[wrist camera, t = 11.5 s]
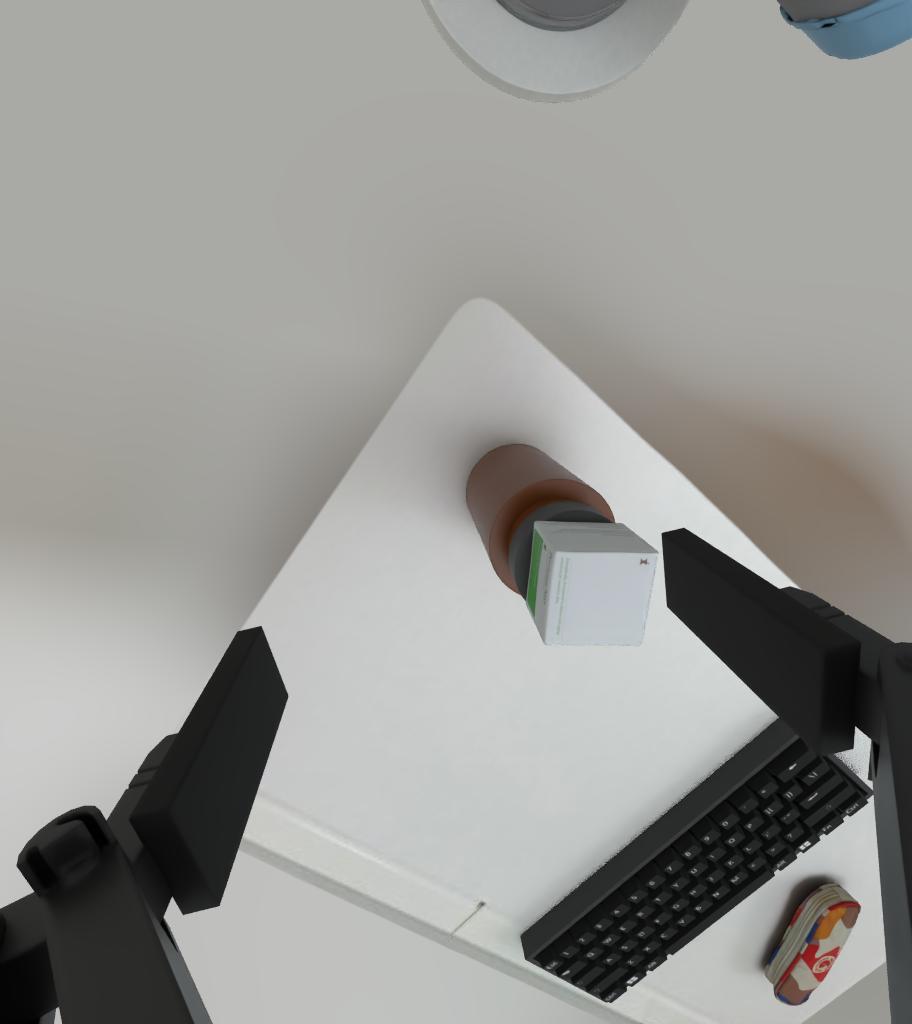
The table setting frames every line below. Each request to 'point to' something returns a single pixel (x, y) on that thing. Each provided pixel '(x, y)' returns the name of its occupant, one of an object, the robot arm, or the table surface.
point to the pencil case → (812, 943)
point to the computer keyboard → (695, 863)
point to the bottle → (525, 505)
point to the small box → (589, 583)
